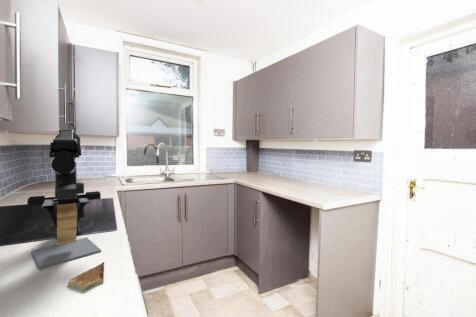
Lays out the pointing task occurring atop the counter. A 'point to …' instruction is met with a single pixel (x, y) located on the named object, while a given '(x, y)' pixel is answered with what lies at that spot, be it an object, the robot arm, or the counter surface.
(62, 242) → the wood block
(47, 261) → the slate mat
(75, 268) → the counter surface
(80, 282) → the shard
